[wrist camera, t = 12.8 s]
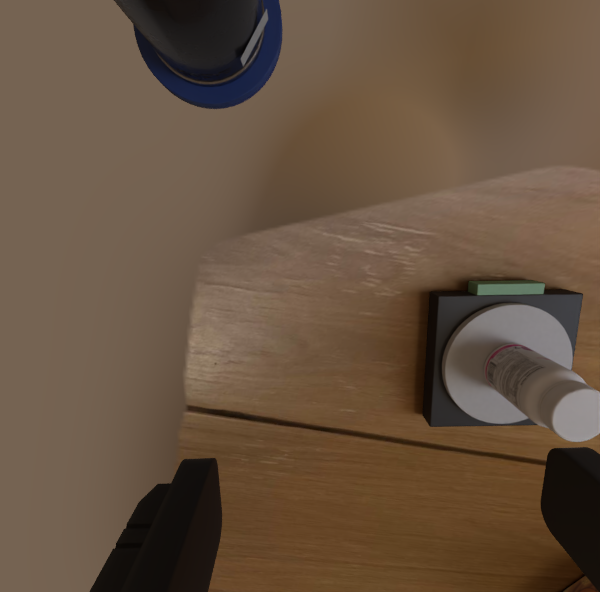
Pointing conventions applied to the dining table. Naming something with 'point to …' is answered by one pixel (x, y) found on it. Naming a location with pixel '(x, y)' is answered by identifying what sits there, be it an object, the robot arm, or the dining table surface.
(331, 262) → the dining table surface
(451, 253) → the dining table surface
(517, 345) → the pill bottle
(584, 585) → the candy box
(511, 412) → the scale
